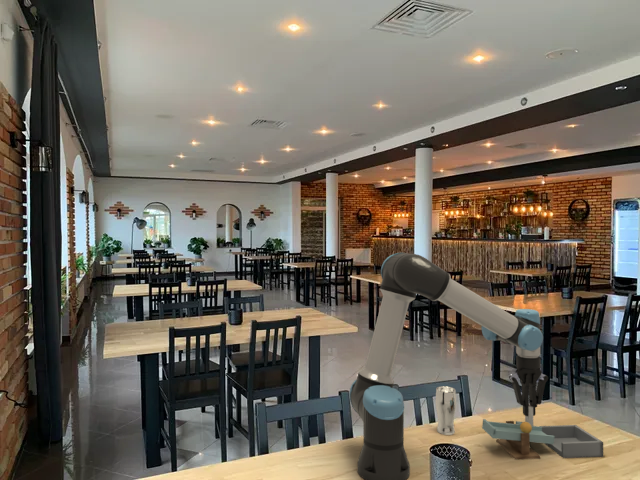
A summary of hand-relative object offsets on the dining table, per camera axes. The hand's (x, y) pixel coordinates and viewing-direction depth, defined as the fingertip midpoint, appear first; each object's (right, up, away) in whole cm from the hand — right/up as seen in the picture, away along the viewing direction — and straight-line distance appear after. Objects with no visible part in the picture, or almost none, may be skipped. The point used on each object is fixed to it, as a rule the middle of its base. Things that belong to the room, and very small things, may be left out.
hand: (529, 424), depth 162 cm
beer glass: (-27, -5, +6) cm, 28 cm away
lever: (-8, 0, -5) cm, 9 cm away
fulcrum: (-7, -5, -8) cm, 12 cm away
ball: (-4, +2, -8) cm, 9 cm away
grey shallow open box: (+10, -5, -7) cm, 13 cm away
